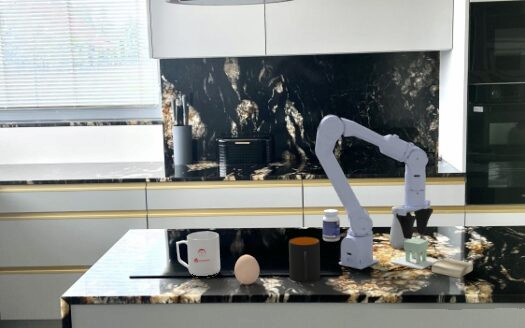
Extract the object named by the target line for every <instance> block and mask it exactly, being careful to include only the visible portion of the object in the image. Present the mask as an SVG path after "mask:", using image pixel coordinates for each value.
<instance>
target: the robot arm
mask: <svg viewBox="0 0 525 328" xmlns="http://www.w3.org/2000/svg"><path fill="white" fill-rule="evenodd" d="M342 135H343V137H356V138H358V139H361V140H363V141H365V142H367V143H369V144H370V143H371V144H373V145H375V146H377V147H378V148H379V152H380V153H381V154H383V155H385V156H386V157H390V158H392V159H394V160H396V161H398V162H400V163H403V162H404V164H405V167H404V168H405V172H404V203H403V204H402V205H401V206H402V207H401V208H399V213H397V214H396V217H397V219H398V221H399V223H400V225H401V228H402V232H403V236H404V238H406V239H412V238H413V232H414V227H415V226H416V231H417V233H418V234H419V233H420V234H423V235H424V234H425V233H426V230H427V226H428V223H429V219H430V218H431V215H432V214H433V212H434V209H433V208H431V200H429V199H426V183H427V181H426V179H427V177H426V174H427V173H426V166H427V164H428V162H429V158H428V154H427V153H426V151H424V150H423V149H422V148H420V147H418V146H417V145H415V144H414V143H412V142H407V141H405V140H403V139H400V136H399V135H397V134H387V135H381V134H379V133H377V132H376V131H373V130H371V129H369V128H367V127H365V126H363V125H361V124H359V123H357V122H356V121H353V120H350V119H347V118H344V117H339V116H338V115H335V114H328V115H325V116H324V117H322V119H321V120H320V122H319V125H318V127H317V132H316V140H315V149H314V152H315V155H316V157H317V159H318V160H319V163H320V165H321V166H322V168H323V170H324V172H325V174H326V176H327V178H328V180H329V182H330V184H331V186H332V187H333V189H334V191H335V193H336V195H337V197H338V199H339V201H340V202H341V204H342V206H343V208H344V209H345V213H346V214H347V220H348V222H349V226H350V227H349V228H348V229H347V234H346V236H345V237H344V238H343V239H342V240H341V242H340V261H339V262H338V264H339V265H340V266H345V267H348V268H349V267H350V268H353V269H358V270H363V269H366V268H368V267H370V266H372V265H374V264H376V263H379V262H380V259H376V258H374V239H373V238H374V237H373V235H374V232H373V230H372V229H373V226H374V224H373V220H372V218H371V216H370V213H369V212H368V210H367V209H366V208H364V207H363V206H362V204H361V203H360V201H359V200H358V197H357V196H356V194H355V192H354V191H353V188H352V187H351V185H350V183H349V181H348V179H347V177H346V174H344V171H343V169H342V167H341V166H340V164H339V162H338V160H337V158H336V155H335V154H334V152H333V151H334V149H335V146H336V142H337V141H338V140H339V139H340V137H341V136H342ZM411 213H414V215H412V214H411ZM415 224H416V225H415ZM414 225H415V226H414Z"/></svg>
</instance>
